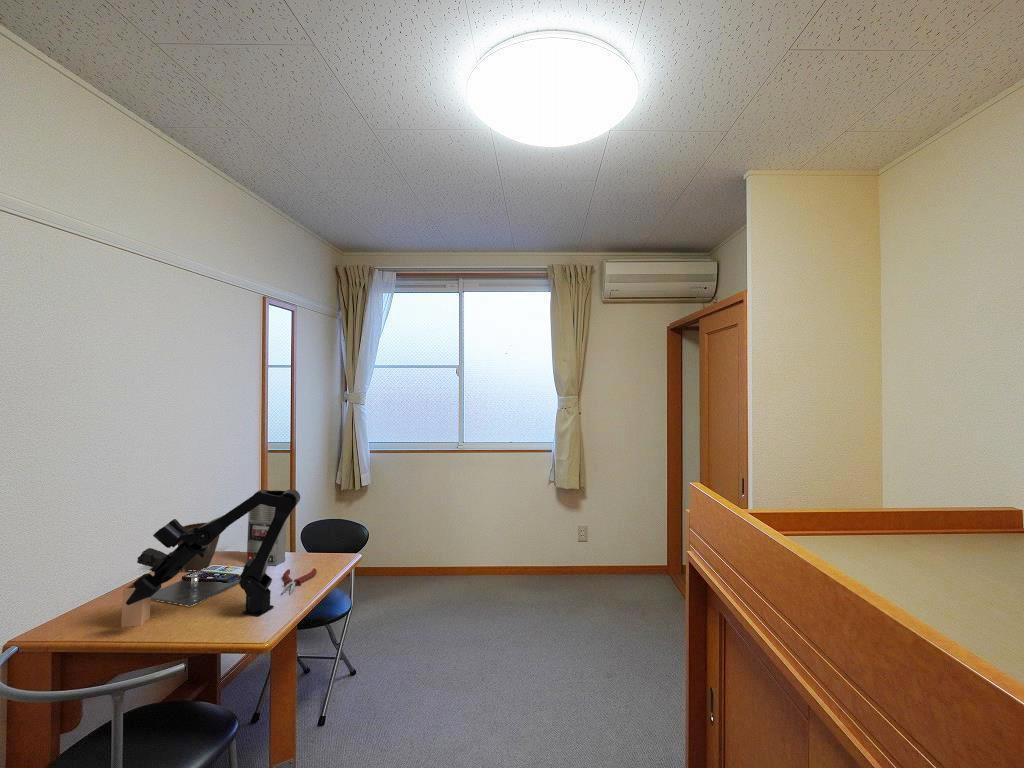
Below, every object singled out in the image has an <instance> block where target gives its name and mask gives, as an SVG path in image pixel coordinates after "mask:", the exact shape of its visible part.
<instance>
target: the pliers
mask: <svg viewBox="0 0 1024 768" xmlns="http://www.w3.org/2000/svg"><path fill="white" fill-rule="evenodd" d="M317 572H318V571H317V569H316V568H313V569H312V570H311V571H310V572H308V573H306V574H304V575H303V576H300V577H297V578H296V579H295V578H294V580H293V579H292V578H291V576H290V575H291V569H290V568H289V569H286V571H285V572H284V573H283V575H282V580H283V583H284V584H283V587H284V588H283V590H282V592H281V593H280V594H281V595H284V594H285V593H286V591H287V592H288V591H289V589H290V591H289V594H292V592H293V591H294V590H295V588H296V587H297V586H298V587H301V586H302V584H303V583H305V582H307V581H310V580H311V579H313V578H314V577H316V575H317Z"/></svg>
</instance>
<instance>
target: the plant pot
mask: <svg viewBox="0 0 1024 768" xmlns="http://www.w3.org/2000/svg"><path fill="white" fill-rule="evenodd" d="M206 523H207V522H200V523H199V522H198V523H192V524H188V525H182V526H183V527H184V528H185V529H186V530H189V529H191V528H196V527H201V526H203V525H204V524H206ZM220 535H221V534H220ZM220 535H219V536H218V537H217V538H215V539H214V540H213V541H212V542H211V543H209V544H208V545H206V546H208V548H207V550H208V553H207V554H206V555H205V556H204V557H203V558H202V557H200V556H199V555H198V554H197V555H196V556H195V557H194V558H193V559H192V560H191V561H190V562H189V563H188V564H187V565H185V566H184V567H183V568H184V569H185V571H186V570H192V571H193V570H200V569H203V568H206V567H208V568H209V566H210V564H211V562H212V560H213V557H214V555H215V552H216V550H217V546H218V542H219V540H220ZM182 543H183V541H181V542H180V543H179V544H177V547H178V546H179V545H181V544H182ZM206 569H207V568H206ZM200 571H201V570H200ZM193 572H194V571H193Z"/></svg>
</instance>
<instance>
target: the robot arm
mask: <svg viewBox="0 0 1024 768" xmlns="http://www.w3.org/2000/svg"><path fill="white" fill-rule="evenodd" d="M300 500H301V494H300V492H299V491H298V490H296V489H292V488H291V489H287V490H268V489H259V490H258V491H256V492H255V493H254V494H253V495H251V496H250V497H248V498H247V499H245V500H244V501H243V502H241V503H240V504H239V505H236V506H235V507H233V508H232V509H231V510H229V511H228V512H227V513H225V514H223V515H221V516H219V517H217V518H215V519H212V520H210V521H208V522H205V523H206V524H204V525H203V526H201V527H196V528H191V529H189V530H186V529H185V528H184V527H183V526H184V525H182V524H181V523H180V522H179V520H177V519H176V518H173V519H172V520H171V521H169V522H168V523H167V524H165V525H164V526H163V527H161V528H159V529H158V530H156V532H155V533H154V534H152V537H154V538H155V539H156V540H157V541H158V542H160V543H161V544H162V545H163V546H164V547H166V548H167V549H170V548H171V547H172V548H175V547H176V546H177V547H176V548H175V549H174V550H172V551H170V552H169V553H168V554H167V553H165V552H163V551H161V550H158V549H155V548H151V547H149V548H146V549H145V550H143V551H142V553H141V554H140V555H139V556H138V557H137V560H136V563H137V564H139V565H143V566H146V567H150V569H149V570H150V571H151V572H153V574H154V575H152V574H151V573H143V575H142V574H141V576H140V577H139V578H137V579H136V580H135V581H134V582H132V583H133V585H134V587H135V590H134V592H133V593H132V595H131V596H130V597H129V599H128V600H127V601H126V604H127V605H130V604H133V603H135V602H138V601H140V600H143V599H145V598H149V597H151V596H152V595H154V594H155V593H156V592H157V591H158V590H159V589H162V584H165V583H167V582H169V581H170V580H172V579H173V578H174V577H176V576H177V575H179V573H180V572H181V571H182V570H183V568H185V567H184V566H185V565H187V564H188V563H189V562H190V561H191V560H192V559H193V558H194V557H195V556H196V555H197V554H198V555H199V556H200V557H202V558H203V557H204V556H205V555H206V554H207V553H208V550H207V548H208V546H206V545H208V544H209V543H211V542H212V541H213V540H214V539H215V538H217V537H218V536H219V535H221V534H223V532H224V531H225V530H226V529H227V528H228V527H229V526H231V525H232V524H233V523H235V522H237V521H238V520H240V519H241V518H242V517H244V516H245V515H246V514H249V511H251V510H252V509H254V508H255V507H257V506H258V505H260V504H262V505H267V506H271V507H276V508H275V513H274V518H273V521H272V523H271V525H270V527H269V529H268V531H267V533H266V535H265V538H264V540H263V542H262V544H261V546H260V548H259V550H258V552H257V555H256V557H255V559H254V560H252V559H249V561H248V562H247V563H245V564H244V566H243V568H242V572H241V574H240V575H239V576H238V579H239V580H240V582H239V584H238V585H239V586H240V588H241V589H242V590H243V591H244V593H245V609H244V610H243V611H242V613H243V615H248V614H249V615H248V616H253V615H255V617H260V616H262V615H264V614H265V613H267V612H269V611H270V610H272V609H274V607H275V606H274V605H271V595H272V593H271V592H272V591H271V589H270V588H269V587H270V585H271V583H272V581H273V578H272V577H271V576H269V575H268V574H267V573H266V572H267V569H268V565H267V563H268V558H269V556H270V554H271V552H272V550H273V548H274V545H275V543H276V541H277V539H278V537H279V535H280V533H281V530H282V528H283V526H284V524H285V522H286V523H287V519H288V518H289V517H290V515H291V514H292V512H293V511H294V509H295V508H296V507H297V506H298V504H299V503H300ZM219 537H220V536H219ZM181 541H183V543H182V544H181V545H179V546H178V544H179V543H180V542H181ZM268 610H269V611H268ZM242 613H241V614H242ZM261 614H262V615H261ZM259 615H260V616H259Z"/></svg>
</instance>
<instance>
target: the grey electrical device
mask: <svg viewBox="0 0 1024 768" xmlns="http://www.w3.org/2000/svg"><path fill="white" fill-rule="evenodd" d="M275 508H276V507H271V506H267V505H262V504H260V505H258V506H257V507H255V508H254V509H252V510H251V511H249V512H248V515H247V517H248V519H247V522H248V523H247V542H246V543H247V546H246V559H245V560H244V561H245V562H244V563H245V564H246V563H247V562H248V561H249V559H252V560H254V559H255V557H256V555H257V552H258V550H259V548H260V546H261V544H262V542H263V540H264V538H265V535H266V533H267V531H268V529H269V527H270V525H271V523H272V521H273V518H274V513H275ZM286 538H287V521H286V522H285V524H284V526H283V528H282V530H281V533H280V535H279V537H278V539H277V541H276V543H275V545H274V548H273V550H272V552H271V554H270V556H269V558H268V563H267V566H278V565H279V564H282V563H283V562H285V561H286V542H287V541H286Z"/></svg>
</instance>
